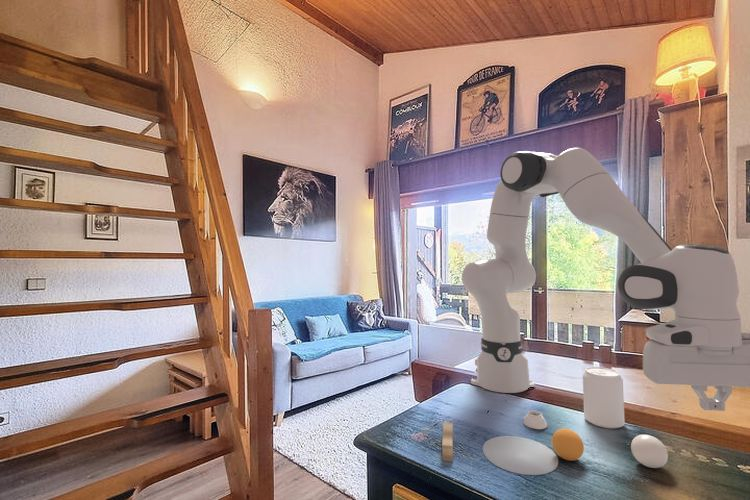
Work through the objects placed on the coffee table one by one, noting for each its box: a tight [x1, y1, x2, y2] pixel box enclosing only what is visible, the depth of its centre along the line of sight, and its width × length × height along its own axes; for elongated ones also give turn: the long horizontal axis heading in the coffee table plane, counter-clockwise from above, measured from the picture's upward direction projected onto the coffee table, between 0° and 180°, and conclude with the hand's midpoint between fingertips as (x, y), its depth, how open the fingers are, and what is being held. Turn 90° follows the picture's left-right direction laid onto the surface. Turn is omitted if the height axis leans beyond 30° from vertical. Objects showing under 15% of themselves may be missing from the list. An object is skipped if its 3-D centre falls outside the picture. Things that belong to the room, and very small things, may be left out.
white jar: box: [523, 410, 548, 430], centre depth 84 cm, size 5×3×5 cm
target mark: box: [482, 435, 559, 476], centre depth 72 cm, size 14×14×1 cm
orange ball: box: [551, 428, 585, 461], centre depth 70 cm, size 6×6×6 cm
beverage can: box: [582, 366, 625, 429], centre depth 85 cm, size 8×8×12 cm
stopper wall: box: [441, 421, 454, 463], centre depth 75 cm, size 10×2×3 cm, turn 168°
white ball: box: [630, 434, 669, 469], centre depth 67 cm, size 6×6×6 cm
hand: (712, 409), depth 65 cm, fingers closed
